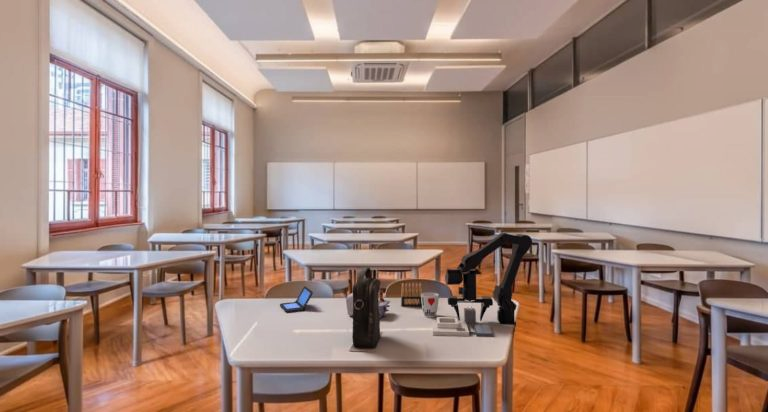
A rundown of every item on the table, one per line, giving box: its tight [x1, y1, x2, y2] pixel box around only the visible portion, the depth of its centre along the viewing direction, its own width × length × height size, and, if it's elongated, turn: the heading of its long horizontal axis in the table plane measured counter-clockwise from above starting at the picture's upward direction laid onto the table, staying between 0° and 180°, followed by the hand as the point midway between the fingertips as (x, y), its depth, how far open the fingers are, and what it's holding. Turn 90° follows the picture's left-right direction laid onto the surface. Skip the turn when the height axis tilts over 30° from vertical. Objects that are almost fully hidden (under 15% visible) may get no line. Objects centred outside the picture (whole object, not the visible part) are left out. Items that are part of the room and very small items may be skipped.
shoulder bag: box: [348, 266, 383, 353], centre depth 155 cm, size 23×9×28 cm, turn 173°
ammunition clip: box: [400, 282, 423, 308], centre depth 206 cm, size 11×2×12 cm, turn 85°
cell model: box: [345, 292, 391, 319], centre depth 190 cm, size 13×11×20 cm
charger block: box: [463, 306, 477, 326], centre depth 176 cm, size 4×4×7 cm
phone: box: [472, 324, 494, 338], centre depth 165 cm, size 6×12×1 cm, turn 174°
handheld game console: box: [279, 286, 314, 314], centre depth 204 cm, size 16×13×9 cm
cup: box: [421, 292, 440, 318], centre depth 188 cm, size 8×8×10 cm
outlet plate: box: [432, 316, 470, 337], centre depth 167 cm, size 14×14×4 cm
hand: (469, 320), depth 176 cm, fingers open, 9 cm apart
